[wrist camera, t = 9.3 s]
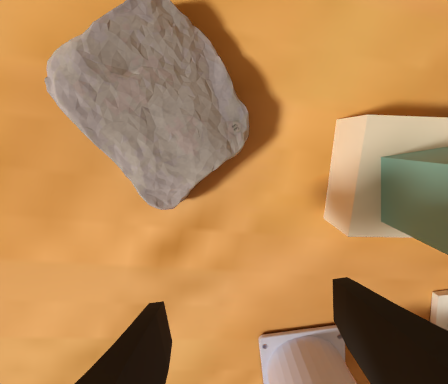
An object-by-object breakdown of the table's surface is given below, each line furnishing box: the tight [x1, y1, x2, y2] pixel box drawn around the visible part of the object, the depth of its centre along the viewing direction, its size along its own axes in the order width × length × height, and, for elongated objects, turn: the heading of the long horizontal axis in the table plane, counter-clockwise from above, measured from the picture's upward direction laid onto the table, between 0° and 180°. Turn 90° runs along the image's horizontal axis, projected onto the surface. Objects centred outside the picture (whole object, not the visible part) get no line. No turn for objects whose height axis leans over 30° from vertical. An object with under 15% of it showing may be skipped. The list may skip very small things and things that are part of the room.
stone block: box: [45, 0, 249, 210], centre depth 16 cm, size 12×5×10 cm
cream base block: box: [324, 115, 448, 237], centre depth 17 cm, size 8×8×4 cm
